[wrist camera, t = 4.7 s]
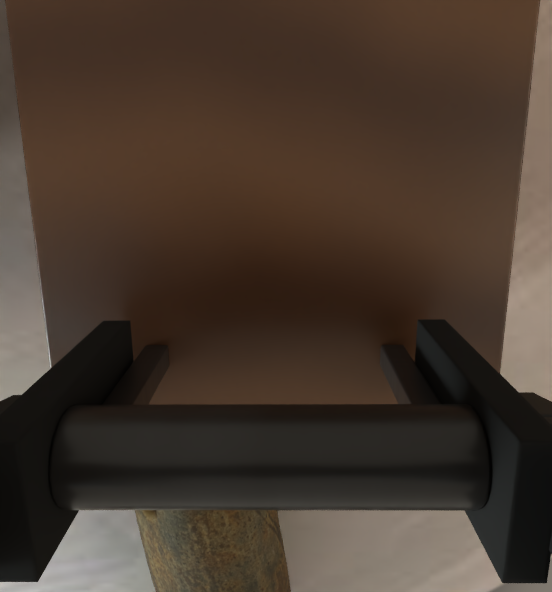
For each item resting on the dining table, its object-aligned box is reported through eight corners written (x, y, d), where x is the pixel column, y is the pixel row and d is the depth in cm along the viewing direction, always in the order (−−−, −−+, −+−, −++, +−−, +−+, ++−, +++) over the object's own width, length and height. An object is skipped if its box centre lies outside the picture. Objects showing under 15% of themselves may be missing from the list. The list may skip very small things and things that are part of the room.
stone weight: (126, 409, 28) (80, 485, 21) (254, 382, 27) (246, 451, 21) (199, 632, 32) (178, 754, 25) (314, 612, 31) (322, 731, 25)
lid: (484, 417, 17) (628, 601, 10) (67, 418, 17) (-82, 599, 10) (570, -414, 12) (992, -1252, 5) (-29, -401, 12) (-470, -1190, 5)
